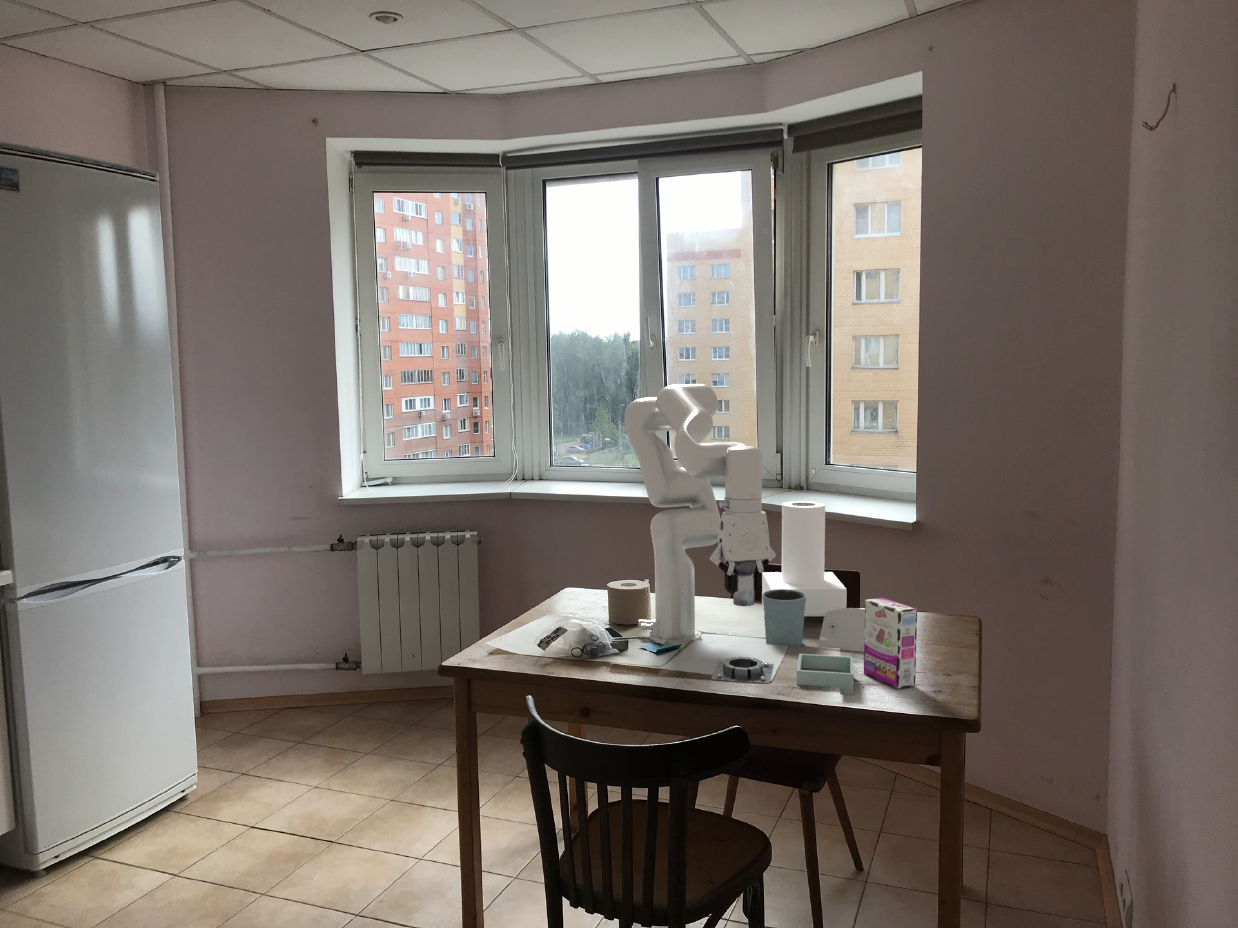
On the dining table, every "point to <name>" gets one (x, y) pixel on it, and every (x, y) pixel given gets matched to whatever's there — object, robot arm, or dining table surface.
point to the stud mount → (743, 670)
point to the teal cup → (784, 616)
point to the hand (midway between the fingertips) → (742, 590)
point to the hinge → (843, 629)
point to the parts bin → (830, 679)
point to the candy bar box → (890, 642)
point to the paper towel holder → (806, 560)
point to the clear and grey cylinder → (744, 583)
